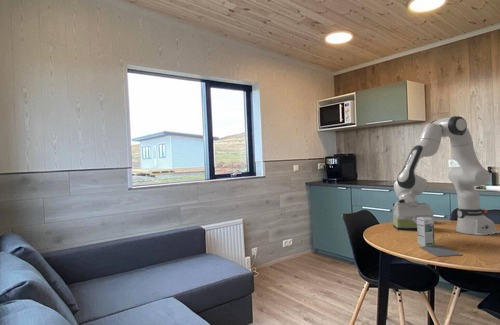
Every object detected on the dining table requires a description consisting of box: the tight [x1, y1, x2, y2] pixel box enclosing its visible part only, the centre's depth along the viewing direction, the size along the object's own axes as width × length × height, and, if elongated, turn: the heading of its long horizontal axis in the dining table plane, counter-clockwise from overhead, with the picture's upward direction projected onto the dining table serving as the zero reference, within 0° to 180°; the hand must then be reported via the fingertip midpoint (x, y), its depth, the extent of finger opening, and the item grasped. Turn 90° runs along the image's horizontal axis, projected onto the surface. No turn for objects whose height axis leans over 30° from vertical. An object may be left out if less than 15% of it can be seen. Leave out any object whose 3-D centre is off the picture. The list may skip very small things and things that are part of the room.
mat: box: [419, 245, 463, 257], centre depth 156 cm, size 12×15×1 cm
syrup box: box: [416, 217, 436, 247], centre depth 167 cm, size 6×6×14 cm
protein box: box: [392, 203, 417, 231], centre depth 205 cm, size 10×16×16 cm
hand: (420, 224), depth 172 cm, fingers closed
